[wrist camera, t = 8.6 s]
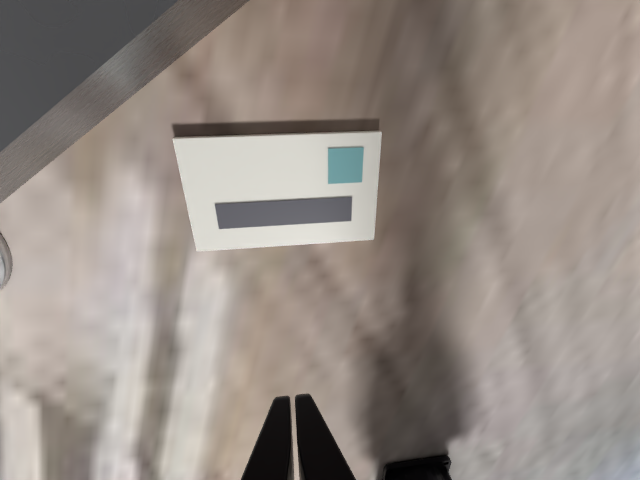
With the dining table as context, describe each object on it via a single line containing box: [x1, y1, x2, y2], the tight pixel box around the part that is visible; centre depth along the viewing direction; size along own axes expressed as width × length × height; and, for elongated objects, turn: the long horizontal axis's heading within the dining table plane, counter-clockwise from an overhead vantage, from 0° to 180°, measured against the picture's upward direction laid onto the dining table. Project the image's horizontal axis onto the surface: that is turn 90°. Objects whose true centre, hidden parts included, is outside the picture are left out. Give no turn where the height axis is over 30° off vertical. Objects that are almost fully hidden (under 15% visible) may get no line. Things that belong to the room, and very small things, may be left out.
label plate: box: [173, 131, 382, 252], centre depth 17 cm, size 10×6×1 cm, turn 91°
